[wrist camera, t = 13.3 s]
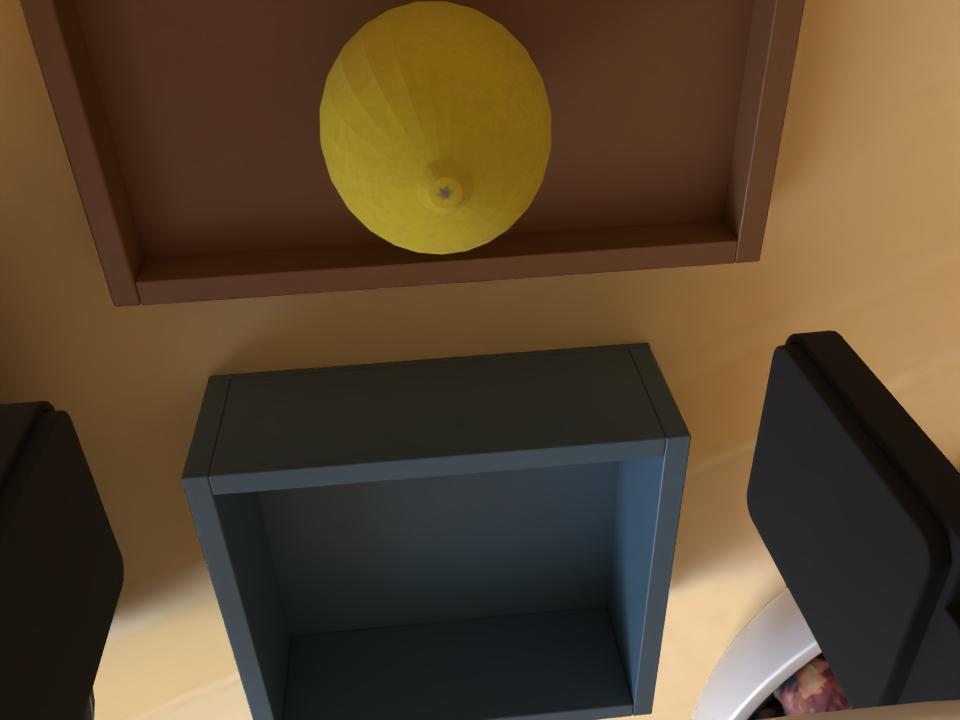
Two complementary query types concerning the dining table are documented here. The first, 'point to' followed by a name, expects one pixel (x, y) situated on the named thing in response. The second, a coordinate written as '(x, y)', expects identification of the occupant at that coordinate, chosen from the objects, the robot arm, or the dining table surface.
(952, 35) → the dining table surface
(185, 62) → the tray
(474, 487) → the blue open storage box
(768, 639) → the bowl
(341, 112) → the lemon
